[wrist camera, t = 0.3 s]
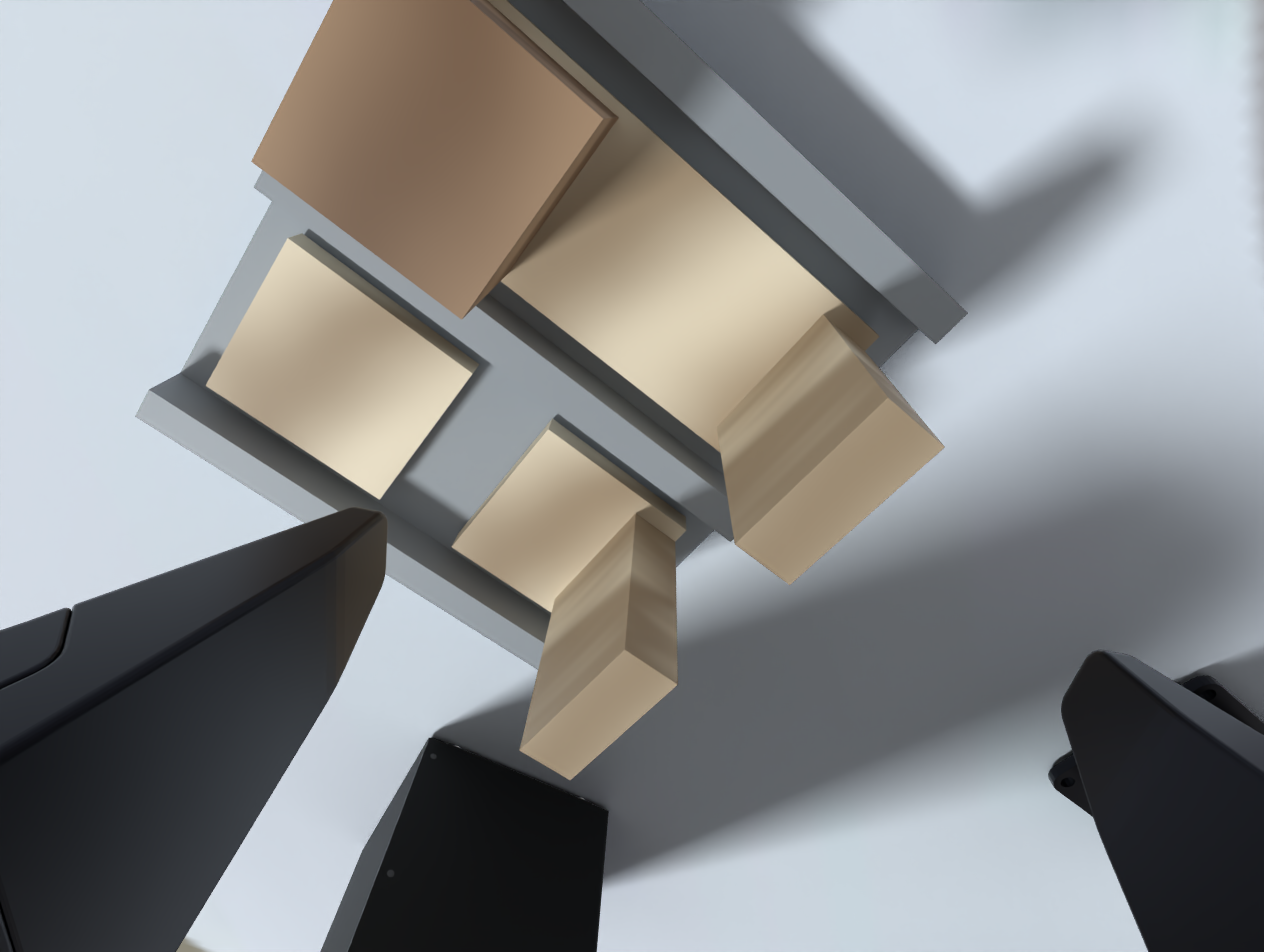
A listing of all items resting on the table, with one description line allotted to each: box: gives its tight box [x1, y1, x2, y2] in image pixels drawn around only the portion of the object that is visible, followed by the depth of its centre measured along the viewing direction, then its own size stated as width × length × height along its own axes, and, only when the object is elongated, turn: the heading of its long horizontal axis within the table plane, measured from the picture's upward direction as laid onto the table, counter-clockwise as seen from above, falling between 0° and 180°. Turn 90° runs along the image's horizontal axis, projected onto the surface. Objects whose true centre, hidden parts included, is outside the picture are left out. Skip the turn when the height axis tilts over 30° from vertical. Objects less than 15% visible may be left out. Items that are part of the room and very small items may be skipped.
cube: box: [251, 0, 619, 320], centre depth 15 cm, size 4×4×4 cm
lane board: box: [135, 0, 968, 669], centre depth 20 cm, size 15×16×2 cm
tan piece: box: [488, 0, 944, 585], centre depth 15 cm, size 13×5×7 cm, turn 51°
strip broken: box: [206, 233, 686, 780], centre depth 18 cm, size 13×5×7 cm, turn 51°
